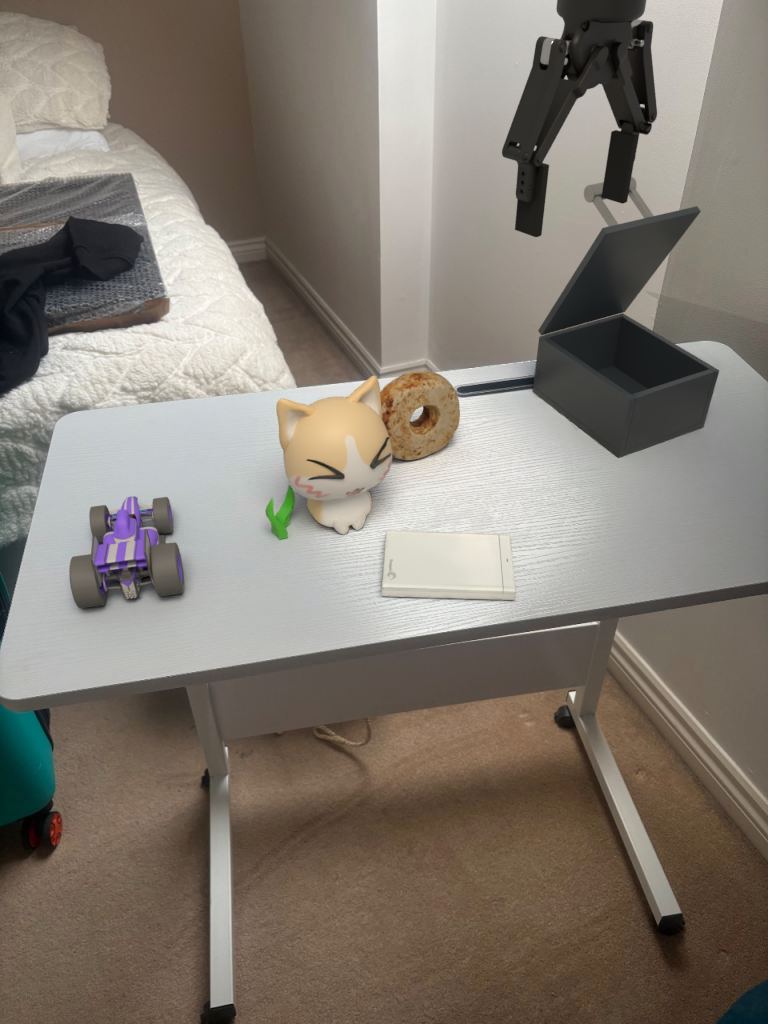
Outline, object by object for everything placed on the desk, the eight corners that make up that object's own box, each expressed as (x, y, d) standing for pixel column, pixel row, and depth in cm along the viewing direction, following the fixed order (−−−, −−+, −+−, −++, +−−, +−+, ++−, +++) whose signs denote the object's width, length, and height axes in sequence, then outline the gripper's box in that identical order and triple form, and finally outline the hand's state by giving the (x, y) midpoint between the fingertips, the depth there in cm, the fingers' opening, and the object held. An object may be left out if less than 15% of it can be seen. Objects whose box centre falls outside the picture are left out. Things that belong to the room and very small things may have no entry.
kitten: (285, 567, 81) (270, 440, 72) (253, 509, 88) (236, 386, 79) (421, 524, 86) (424, 400, 77) (380, 472, 93) (378, 352, 84)
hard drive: (381, 586, 77) (516, 589, 76) (385, 528, 83) (510, 531, 82) (381, 598, 78) (514, 602, 77) (386, 540, 84) (509, 543, 84)
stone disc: (383, 473, 93) (382, 396, 87) (369, 456, 95) (367, 380, 89) (463, 449, 96) (468, 374, 90) (448, 433, 99) (452, 359, 93)
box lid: (701, 211, 90) (662, 156, 92) (606, 233, 85) (568, 175, 88) (624, 312, 105) (593, 263, 108) (541, 335, 101) (510, 283, 103)
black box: (703, 427, 99) (719, 370, 94) (618, 458, 95) (630, 399, 90) (612, 366, 111) (622, 312, 106) (532, 391, 106) (538, 336, 101)
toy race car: (182, 505, 89) (171, 455, 85) (185, 603, 78) (173, 551, 73) (90, 517, 87) (74, 467, 83) (79, 619, 76) (61, 567, 72)
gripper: (654, -52, 78) (617, 179, 92) (470, -27, 66) (458, 237, 79) (726, -46, 74) (676, 195, 87) (544, -18, 61) (518, 259, 75)
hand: (572, 215), depth 83 cm, fingers open, 13 cm apart
